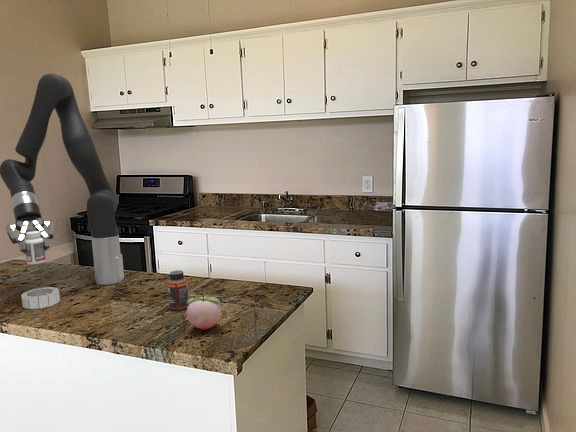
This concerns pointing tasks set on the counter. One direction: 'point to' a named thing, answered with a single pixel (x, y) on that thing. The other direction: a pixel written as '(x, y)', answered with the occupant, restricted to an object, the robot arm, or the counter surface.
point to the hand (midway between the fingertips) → (36, 250)
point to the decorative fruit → (203, 312)
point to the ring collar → (40, 298)
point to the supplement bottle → (177, 291)
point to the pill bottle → (34, 248)
